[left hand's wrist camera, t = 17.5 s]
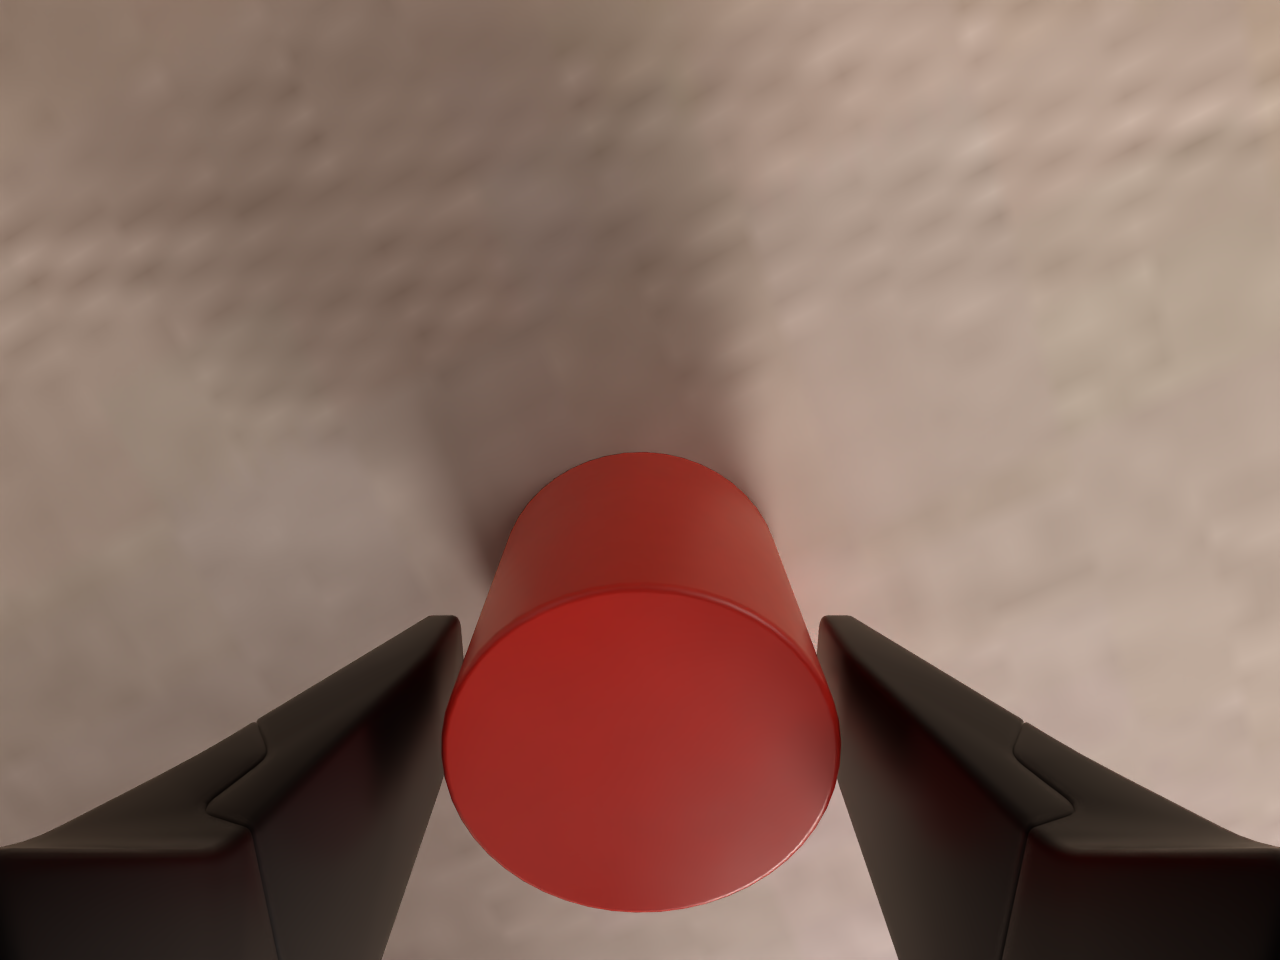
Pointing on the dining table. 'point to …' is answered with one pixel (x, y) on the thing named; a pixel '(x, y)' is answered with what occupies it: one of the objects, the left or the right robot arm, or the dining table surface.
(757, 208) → the dining table surface
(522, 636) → the canister
